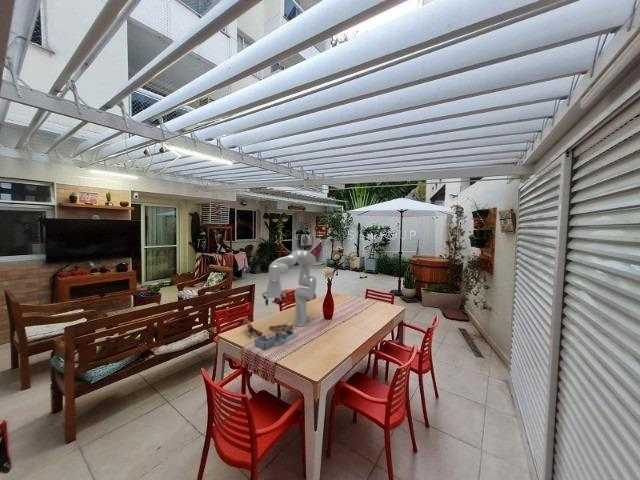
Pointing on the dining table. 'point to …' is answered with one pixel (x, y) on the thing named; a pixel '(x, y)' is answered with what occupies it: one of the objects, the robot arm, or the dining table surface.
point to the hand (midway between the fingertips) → (273, 305)
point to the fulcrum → (283, 337)
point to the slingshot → (251, 328)
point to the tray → (264, 342)
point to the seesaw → (280, 329)
